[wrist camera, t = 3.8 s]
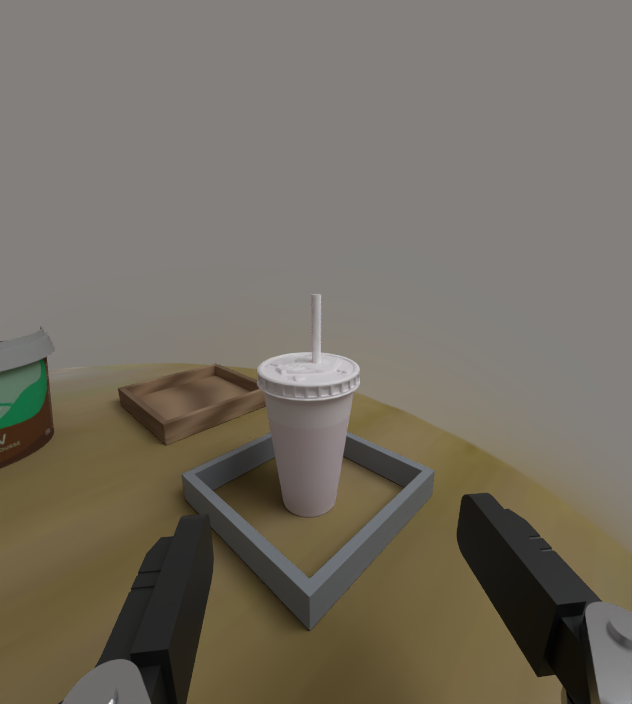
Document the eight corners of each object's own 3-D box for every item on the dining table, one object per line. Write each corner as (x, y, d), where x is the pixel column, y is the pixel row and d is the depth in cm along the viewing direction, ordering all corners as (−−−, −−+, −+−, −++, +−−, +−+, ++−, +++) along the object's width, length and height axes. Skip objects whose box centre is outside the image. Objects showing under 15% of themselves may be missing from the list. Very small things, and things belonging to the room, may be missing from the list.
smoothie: (375, 508, 22) (387, 297, 18) (288, 550, 19) (281, 306, 15) (323, 460, 27) (325, 288, 24) (249, 486, 24) (236, 293, 20)
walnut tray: (166, 445, 30) (163, 424, 29) (120, 404, 38) (117, 388, 37) (273, 403, 38) (272, 386, 38) (217, 377, 46) (216, 363, 46)
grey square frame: (309, 631, 15) (309, 597, 14) (184, 499, 23) (181, 474, 22) (431, 495, 23) (434, 470, 23) (309, 433, 31) (309, 414, 31)
